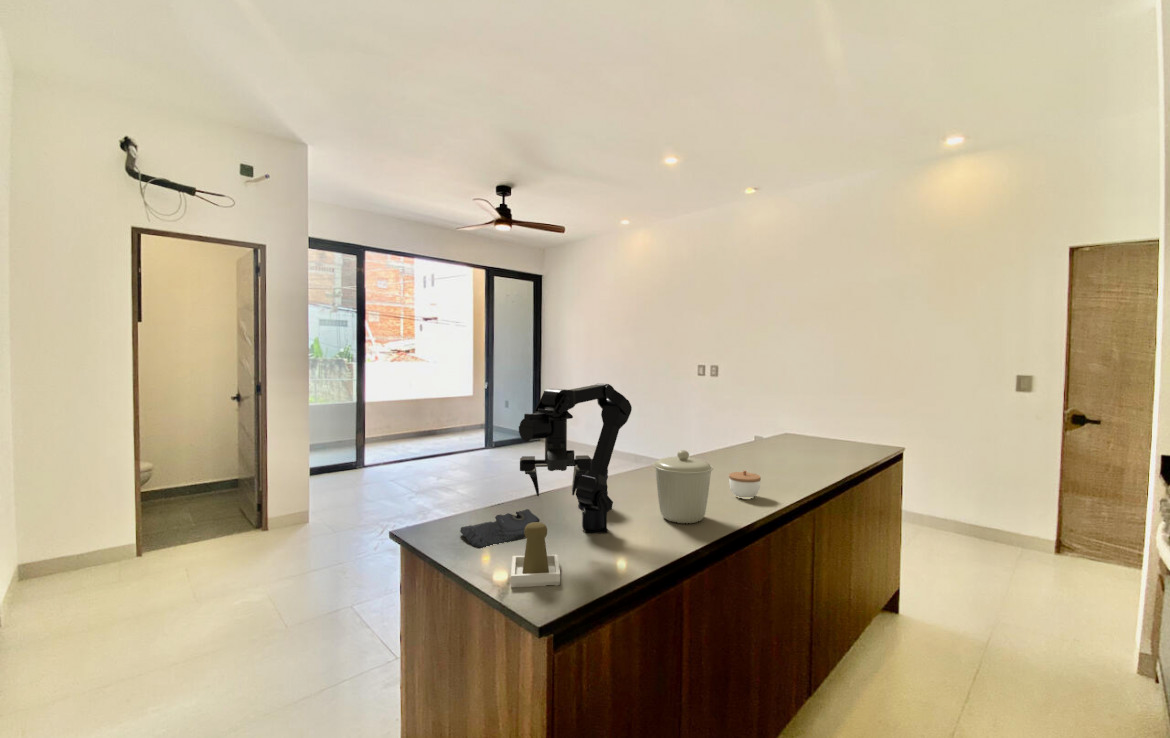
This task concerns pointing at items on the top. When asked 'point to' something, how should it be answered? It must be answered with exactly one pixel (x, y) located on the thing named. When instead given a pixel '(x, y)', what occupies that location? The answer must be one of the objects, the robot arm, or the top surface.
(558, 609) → the top surface
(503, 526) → the dark slate chunk
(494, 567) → the top surface
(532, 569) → the olive brown pawn
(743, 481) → the lidded jar
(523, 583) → the tray
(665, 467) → the canister
